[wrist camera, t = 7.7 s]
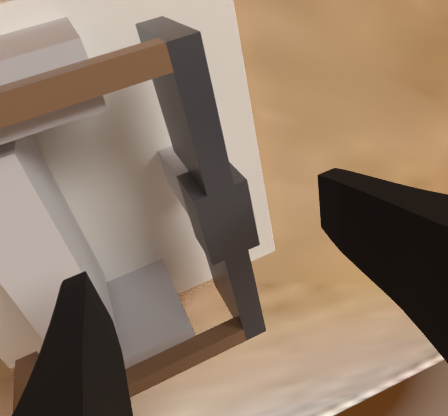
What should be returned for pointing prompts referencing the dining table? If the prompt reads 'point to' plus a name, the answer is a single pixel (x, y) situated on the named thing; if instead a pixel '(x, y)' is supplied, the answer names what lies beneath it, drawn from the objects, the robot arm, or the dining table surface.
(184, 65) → the glasses
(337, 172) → the robot arm
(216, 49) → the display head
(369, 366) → the dining table surface
